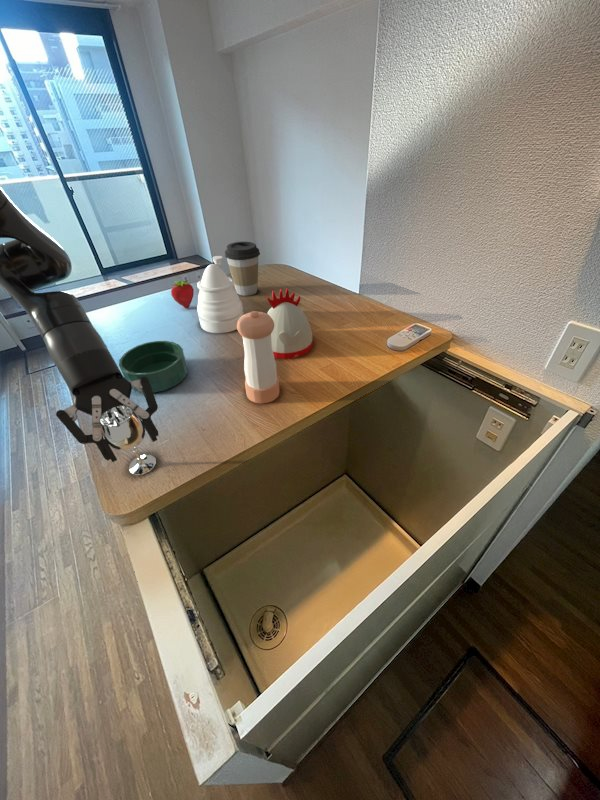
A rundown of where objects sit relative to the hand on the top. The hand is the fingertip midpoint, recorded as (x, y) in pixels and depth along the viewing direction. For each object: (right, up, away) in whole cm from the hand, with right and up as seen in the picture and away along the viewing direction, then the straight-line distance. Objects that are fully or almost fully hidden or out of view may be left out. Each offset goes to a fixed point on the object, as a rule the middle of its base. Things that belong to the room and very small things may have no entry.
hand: (135, 450), depth 53 cm
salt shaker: (+18, +10, +19) cm, 28 cm away
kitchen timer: (+23, +23, +34) cm, 47 cm away
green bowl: (-7, +14, +24) cm, 29 cm away
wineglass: (-1, -3, +5) cm, 6 cm away
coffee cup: (+8, +46, +60) cm, 76 cm away
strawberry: (-10, +37, +51) cm, 64 cm away
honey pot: (+4, +31, +44) cm, 54 cm away
